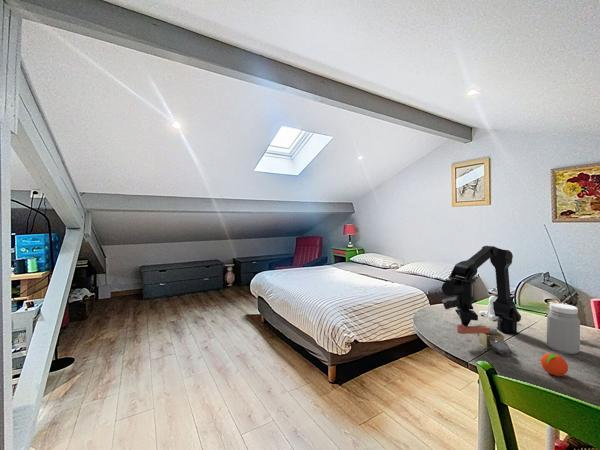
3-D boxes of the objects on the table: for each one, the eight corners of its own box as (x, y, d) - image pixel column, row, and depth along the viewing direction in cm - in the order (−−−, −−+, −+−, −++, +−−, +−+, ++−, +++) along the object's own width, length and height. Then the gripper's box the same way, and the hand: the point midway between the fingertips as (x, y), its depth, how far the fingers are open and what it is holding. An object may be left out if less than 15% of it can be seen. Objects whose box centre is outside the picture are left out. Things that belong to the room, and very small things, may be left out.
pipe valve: (472, 334, 125) (472, 323, 125) (487, 335, 124) (487, 324, 124) (495, 356, 105) (495, 342, 105) (513, 358, 104) (513, 344, 104)
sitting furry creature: (477, 314, 151) (477, 293, 151) (491, 313, 152) (491, 292, 152) (491, 320, 142) (491, 298, 141) (506, 320, 143) (506, 297, 142)
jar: (541, 346, 113) (542, 304, 113) (554, 342, 117) (554, 301, 117) (572, 357, 104) (573, 311, 104) (584, 352, 108) (585, 307, 108)
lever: (492, 330, 116) (492, 323, 116) (499, 334, 112) (499, 326, 112) (454, 330, 116) (454, 323, 116) (460, 334, 112) (460, 327, 112)
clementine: (559, 383, 88) (560, 361, 88) (534, 372, 95) (534, 352, 94) (572, 377, 91) (572, 356, 91) (547, 367, 98) (547, 347, 98)
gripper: (440, 286, 128) (440, 318, 128) (446, 297, 110) (446, 335, 111) (467, 288, 124) (467, 321, 124) (478, 300, 106) (478, 339, 107)
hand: (464, 328), depth 117 cm, fingers closed
